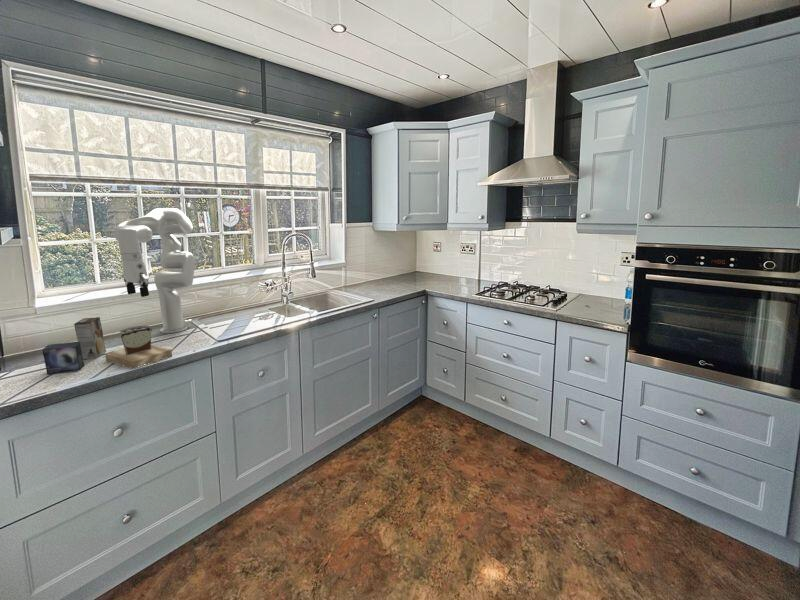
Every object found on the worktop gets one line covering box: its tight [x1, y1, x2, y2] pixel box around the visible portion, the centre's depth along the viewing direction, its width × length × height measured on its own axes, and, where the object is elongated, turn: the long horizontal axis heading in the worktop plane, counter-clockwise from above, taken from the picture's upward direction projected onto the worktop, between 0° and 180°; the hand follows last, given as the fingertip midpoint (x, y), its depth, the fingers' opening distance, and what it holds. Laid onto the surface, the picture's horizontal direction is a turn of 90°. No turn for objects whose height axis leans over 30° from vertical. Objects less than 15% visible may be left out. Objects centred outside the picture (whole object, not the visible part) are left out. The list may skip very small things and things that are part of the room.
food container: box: [118, 325, 153, 355], centre depth 170 cm, size 12×6×10 cm, turn 146°
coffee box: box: [73, 316, 107, 360], centre depth 173 cm, size 9×6×16 cm
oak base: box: [105, 344, 173, 369], centre depth 171 cm, size 16×20×3 cm
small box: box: [41, 341, 85, 375], centre depth 158 cm, size 11×6×10 cm, turn 114°
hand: (138, 294), depth 177 cm, fingers open, 9 cm apart
